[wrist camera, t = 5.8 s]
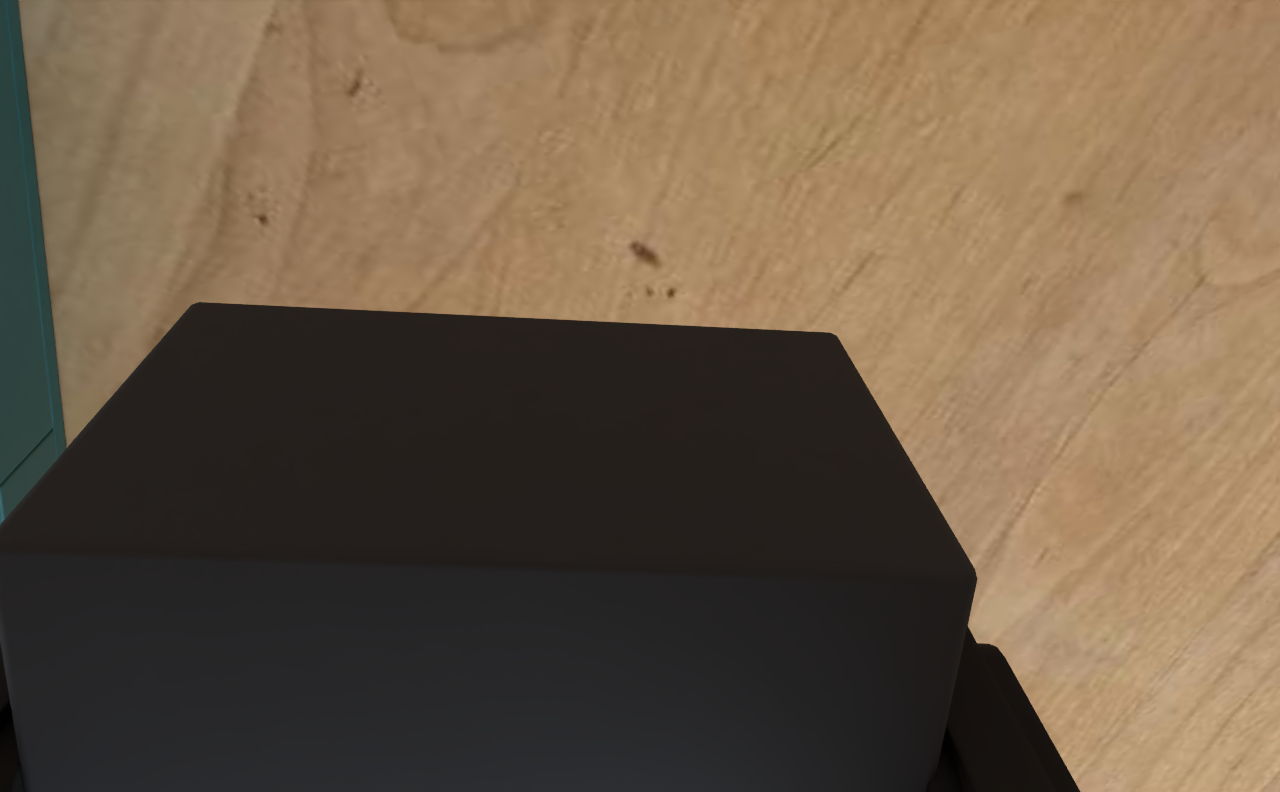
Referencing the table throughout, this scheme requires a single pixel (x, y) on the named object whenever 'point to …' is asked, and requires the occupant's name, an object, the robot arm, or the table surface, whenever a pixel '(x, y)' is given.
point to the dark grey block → (481, 566)
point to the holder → (23, 292)
